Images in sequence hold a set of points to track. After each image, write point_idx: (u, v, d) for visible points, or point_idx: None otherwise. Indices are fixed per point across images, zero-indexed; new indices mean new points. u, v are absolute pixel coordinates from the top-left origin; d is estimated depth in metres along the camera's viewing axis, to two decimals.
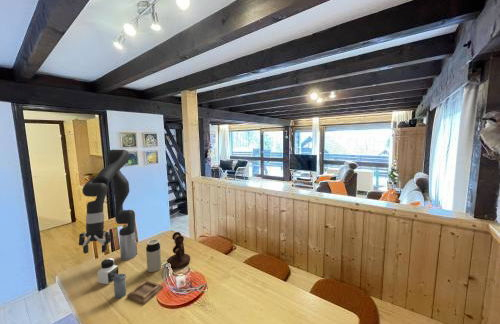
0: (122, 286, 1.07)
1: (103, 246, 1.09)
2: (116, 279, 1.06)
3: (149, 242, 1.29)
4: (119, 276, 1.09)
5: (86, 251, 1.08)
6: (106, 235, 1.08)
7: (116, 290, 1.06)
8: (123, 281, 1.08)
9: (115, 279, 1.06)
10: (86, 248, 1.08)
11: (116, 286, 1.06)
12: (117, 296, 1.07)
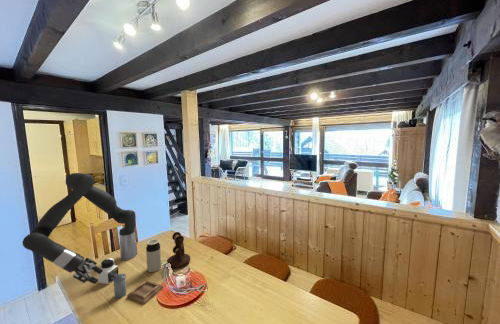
0: (122, 286, 1.07)
1: (90, 281, 0.99)
2: (116, 279, 1.06)
3: (149, 242, 1.29)
4: (119, 276, 1.09)
5: (99, 272, 1.08)
6: None
7: (116, 290, 1.06)
8: (123, 281, 1.08)
9: (115, 279, 1.06)
10: (96, 270, 1.07)
11: (116, 286, 1.06)
12: (117, 296, 1.07)
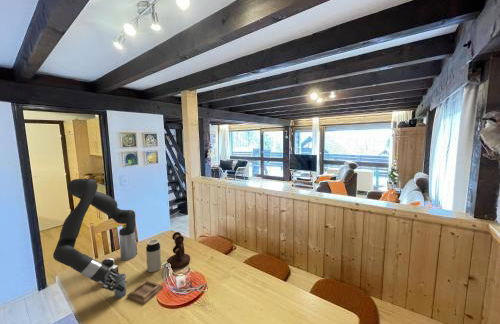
0: None
1: (117, 289, 1.05)
2: (116, 279, 1.06)
3: (149, 242, 1.29)
4: (119, 276, 1.09)
5: None
6: None
7: (116, 290, 1.06)
8: (123, 281, 1.08)
9: (115, 279, 1.06)
10: None
11: None
12: (117, 296, 1.07)
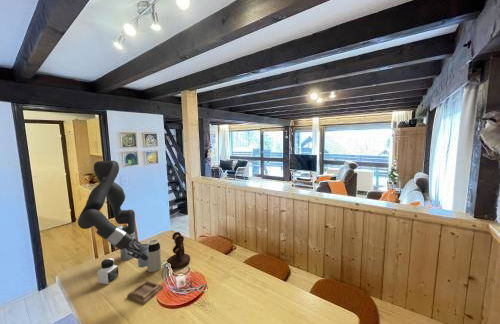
0: None
1: (141, 257, 1.05)
2: (140, 248, 1.06)
3: (149, 242, 1.29)
4: (142, 245, 1.09)
5: None
6: None
7: (139, 259, 1.06)
8: (146, 250, 1.08)
9: (139, 248, 1.06)
10: None
11: None
12: (141, 265, 1.07)
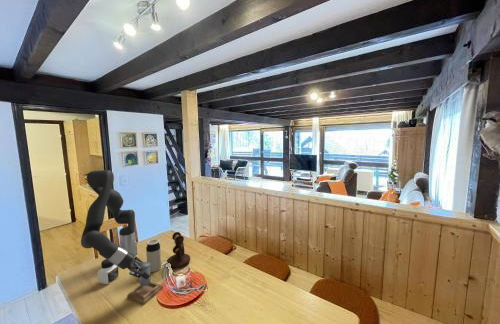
0: None
1: (142, 276, 1.06)
2: (141, 267, 1.07)
3: (149, 242, 1.29)
4: (144, 264, 1.10)
5: None
6: None
7: (141, 278, 1.07)
8: (148, 269, 1.09)
9: None
10: None
11: None
12: (142, 284, 1.07)
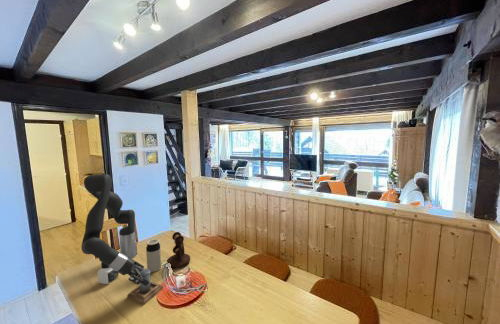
0: None
1: (142, 283, 1.05)
2: (142, 274, 1.08)
3: (149, 242, 1.29)
4: (144, 271, 1.10)
5: None
6: None
7: (141, 285, 1.08)
8: (148, 276, 1.09)
9: (141, 274, 1.08)
10: None
11: None
12: (142, 291, 1.08)
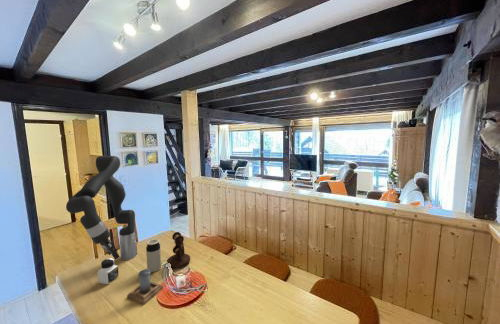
0: (147, 281, 1.09)
1: (113, 255, 1.05)
2: (142, 274, 1.08)
3: (149, 242, 1.29)
4: (144, 271, 1.10)
5: (109, 253, 1.12)
6: (107, 247, 1.02)
7: (141, 286, 1.08)
8: (148, 276, 1.09)
9: (141, 274, 1.08)
10: (108, 250, 1.11)
11: (142, 281, 1.08)
12: (142, 291, 1.08)
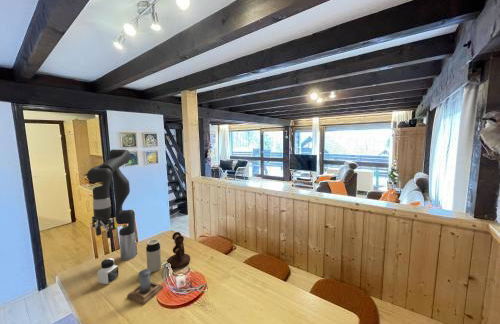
0: (147, 281, 1.09)
1: (108, 233, 1.08)
2: (142, 274, 1.08)
3: (149, 242, 1.29)
4: (144, 271, 1.10)
5: (98, 233, 1.11)
6: (108, 222, 1.06)
7: (141, 285, 1.08)
8: (148, 276, 1.09)
9: (141, 274, 1.08)
10: (98, 231, 1.11)
11: (142, 281, 1.08)
12: (143, 291, 1.08)
